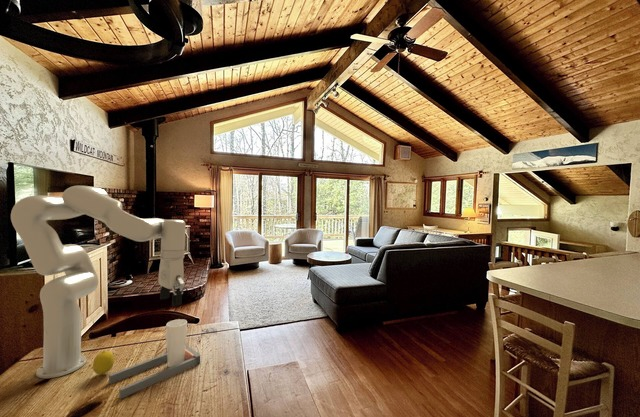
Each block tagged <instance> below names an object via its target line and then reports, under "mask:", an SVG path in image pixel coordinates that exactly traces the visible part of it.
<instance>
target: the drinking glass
mask: <svg viewBox="0 0 640 417" xmlns="http://www.w3.org/2000/svg"><path fill="white" fill-rule="evenodd" d="M187 333H188V321H187V319H185V318H184V319H183V318H182V319H180V318H178V319H174V320H169V321H168V322H167V323H166V325H165V344H166V353H167V362H166V363H167V364H166V365H167V367H168V368H170V367H172V366H175V365H177V364H179V363H182V362H184V361H185V358H184V355H185V346H186V345H187V336H188V334H187Z"/></svg>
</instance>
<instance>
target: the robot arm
mask: <svg viewBox="0 0 640 417" xmlns="http://www.w3.org/2000/svg"><path fill="white" fill-rule="evenodd" d="M83 215H86V216H89V217H91V218H93V219H96V220H98V221H100V222H102V223H104V224H105V225H106V227H107V228H109V229H110V230H111V231H112V232H114V233H116V234H117V235H120V236H122V237H125V238H126V239H129V240H132V241H134V242H140V243H141V242H148V241H151V240H157V239H161V240H160V255H159V256H160V263H159V266H158V267H159V268H158V269H159V270H158V278H157V282H158V284H159V287H160V288H159V290H160V291H159V292H160V293H159V299H160V300H165V299H170V297H171V307H173V308H174V307H179V306H181V305H182V304H183V294H184V290H185V289H184V288H185V285H186V284H185V282H184V274H185V273H184V271H185V269H184V258H185V247H186V222H185V221H184V220H182V219H166V218H165V219H164V218H158V217H152V218H150V217H149V218H140V217H138V216H136V215H133V214H130V213H128V212H126V211H125V210H123V203H122V202H121V201H119V200H118V199H114V198H113V197H110V196H109V194H108V192H107V191H106V190H105V189H103V188H101V187H98V186H88V185H73V186H70V187H68V188H66V189H65V190H64V191H63V192H62V194H61V195H44V194H43V195H39V194H38V195H29V196H27V197H23V198H21V199H19V200H18V201H17V202H15V204H14V205H13V207H12V209H11V213H10V221H11V223H12V227H13V228H14V230H15V231H16V233H17V235H18V236H19V237H20V239H21V241H22V243H23V246H24V248H25V250H26V253H27V255H28V257H29V260H30V262H31V264H32V266H33V268H34V271H35V272H36V273H37V274H38V275H40V276H45V277H46V276H53V275H57V274H61V273H64V274H65V275H61V276H58V277H55V278H52V279H50V280H49V281H48V282H46V283H44V285H43V286H42V288H41V289H40V292H39V299H40V303H41V308H42V312H43V314H42V316H43V347H42V348H43V357H42V358H43V359H42V361H43V362H42V365H40V366H39V367H38V368H37V369H36V373H35V375H36V377H38V378H40V379H53V378H58V377H63V376H65V375H68V374H70V373H73V372H75V371H77V370H79V369H81V368H82V367H83V366H84V365H85V364H86V363H87V356H85V355H84V354H82V310H81V307H80V306H79V304H78V300H80V299H82V298H83V297H86V296H89V295H90V294H92V293H93V292H94V291H95V290H97V288H98V287H99V277H98V274H97V272H96V270H95V267H94V265H93V262H92V260H91V258H90V256H89V254H88V252H87V251H86V249H85V248H84V247H82V246H81V245H78V244H74V243H73V244H72V243H69V244H63V243H62V241H61V239H60V237H59V234H58V233H57V231H56V230H55V229H54V228H53V227H52V226H51V225H49V223H47V221H55V220H68V219H73V218H77V217H80V216H83ZM171 291H172V295H171Z"/></svg>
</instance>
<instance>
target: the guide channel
mask: <svg viewBox="0 0 640 417" xmlns="http://www.w3.org/2000/svg"><path fill="white" fill-rule="evenodd" d="M164 363H167V352H165V353H163V354H161V355H158V356H155V357H153V358H150V359H146V360H145V361H143V362H139V363H137V364H134V365H131V366H128V367H126V368H124V369H120V370H118V371H116V372H113V373H110V374H109V375H108V383H109V385H112V384H114V383H116V382H120V381H121V380H125V379H127V378H129V377H131V376H134V375H137V374H139V373H142V372H143V371H147V370H149V369H151V368H154V367H157V366H159V365H162V364H164ZM200 364H201V354H199V353H198V352H196V350H194V349H192V348H191V347H190V346H188V345H187V344H186V346H185V355H184V362H182V363H179V364H177V365H175V366H172V367H168V368H165V369H163V370H160V371H158V372H156V373H153V374H151V375H149V376H147V377H143V378H142V379H139V380H137V381H134V382H132V383H129V384H127V385H125V386H122V387H120V388H119V391H118V393H119V395H118V396H119V399H124V398H126V397H128V396H131V395H133V394H134V393H137V392H139V391H142V390H144V389H146V388H148V387H150V386H153V385H155V384H158V383H160V382H161V381H163V380H166V379H168V378H171V377H173V376H176V375H177V374H180V373H182V372H184V371H187V370H189V369H190V368H194V367H195V366H197V365H200Z"/></svg>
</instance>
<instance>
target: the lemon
mask: <svg viewBox="0 0 640 417" xmlns="http://www.w3.org/2000/svg"><path fill="white" fill-rule="evenodd" d="M114 363H115V356H114V354H113V352H111V351H109V350H102V351H101V352H99V353H98V354H97V355H96V356H95V357H94V360H93V363H92V368H93V372H94V373H95V374H98V375H102V376H104V375H105V374H106V373H109V371H110V370H111V369H112V368H113V366H114V365H115V364H114Z"/></svg>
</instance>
